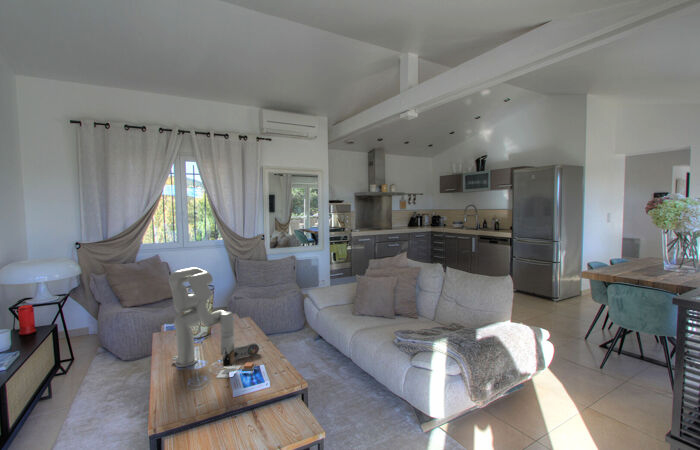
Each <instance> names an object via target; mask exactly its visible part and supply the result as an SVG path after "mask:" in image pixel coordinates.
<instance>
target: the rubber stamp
mask: <svg viewBox="0 0 700 450" xmlns="http://www.w3.org/2000/svg"><path fill="white" fill-rule="evenodd" d="M226 356H227V355H226ZM229 359H230V365H229V366H234V364H235V361H236V360H235V359H234V351H231V352H230V353H229ZM222 367H225V366H224V358H223V357H222Z"/></svg>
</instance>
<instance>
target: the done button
mask: <svg viewBox="0 0 700 450" xmlns="http://www.w3.org/2000/svg"><path fill="white" fill-rule="evenodd" d="M254 364H255V363H254V362H245V364H244V365H243V366H244V368H252V367H253V366H254Z"/></svg>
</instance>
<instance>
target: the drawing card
mask: <svg viewBox="0 0 700 450" xmlns="http://www.w3.org/2000/svg"><path fill="white" fill-rule="evenodd" d="M235 366H236V367H235ZM241 367H242V365H232V366H229V367H225V366H223V368H227V369H225V370H222V369H221V370H220V372H219V373H218V374H217V375H216V376H215V379H229V378H228V377H229V372H230V371H234V370H236V369H239V368H240V369H241ZM232 368H233V369H232ZM240 369H239V370H240Z"/></svg>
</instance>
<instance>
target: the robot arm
mask: <svg viewBox="0 0 700 450" xmlns="http://www.w3.org/2000/svg"><path fill="white" fill-rule="evenodd" d="M213 280H214V279H213V276H212V274H211V273H210V272H208V271H206V270H203V269H201V268H199V267H196V266H195V267H194V266H193V267H189V268H188V267H187V268H183V269H178V270H176V271H173V272H172V273H171V274H170V275H169V277H168V285H169V288H170V291H171V295H172V302H173V307H174V311H176V312H177V313H181V314H179V315H177V316H176V317H175V319H174V321H173V325H174V328H175V329H174V330H175V332H176V348H177V355H173V356H172V357H171V359H172V360H171V361H175V367H177V368H186V367H189V366H192V365H194V364H196V363H197V362H198V358H197V357H196V356H195V341H194V339H195V338H194V332H193V331H192V330H191V328H192V327H194V326H196V325H198V324H201V323H202V324H203V326H205V327H207V328H211V327H213V326H216V325H219V326H220V327H219V329H220V355H222V359H223V358H224V366H223V367H225V366H229V365H230V359H229V353H230V352H231V351H233V349H234V347H235V337H234V335H235V325H234V314H233V312H232V311H226V310H223V309H218V310H215V311H213V312H209V311H208V309H207V308H208V307H207V303H208V301H209V300H210V298H212V297H213V292H212V291H211V289H210V287H209V285H210V284H212V283H213ZM184 283H185V284H186V283H189V286H190V288H191V289H192V291H193V293H188V289H187V287H186V286H185V284H184ZM186 311H187V312H186ZM183 312H184V313H183ZM226 355H227V356H226Z"/></svg>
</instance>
